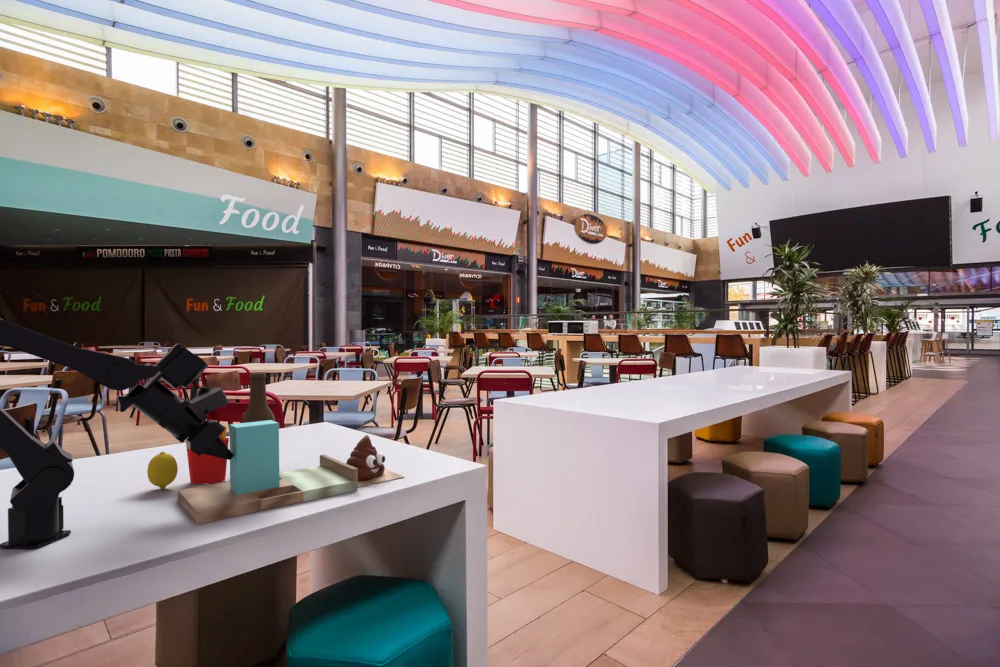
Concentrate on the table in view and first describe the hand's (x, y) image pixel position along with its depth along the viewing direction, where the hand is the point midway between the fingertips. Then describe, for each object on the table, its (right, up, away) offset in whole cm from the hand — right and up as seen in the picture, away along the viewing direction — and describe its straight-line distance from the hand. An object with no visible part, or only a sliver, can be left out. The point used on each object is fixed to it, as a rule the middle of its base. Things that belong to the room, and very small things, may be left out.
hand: (231, 457), depth 106 cm
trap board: (+6, -9, +5) cm, 11 cm away
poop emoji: (+22, -9, +18) cm, 29 cm away
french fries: (-13, -9, +15) cm, 22 cm away
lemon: (-20, -9, +10) cm, 24 cm away
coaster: (+22, -9, +18) cm, 29 cm away
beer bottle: (-4, -9, +21) cm, 23 cm away
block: (+3, -7, +3) cm, 8 cm away
